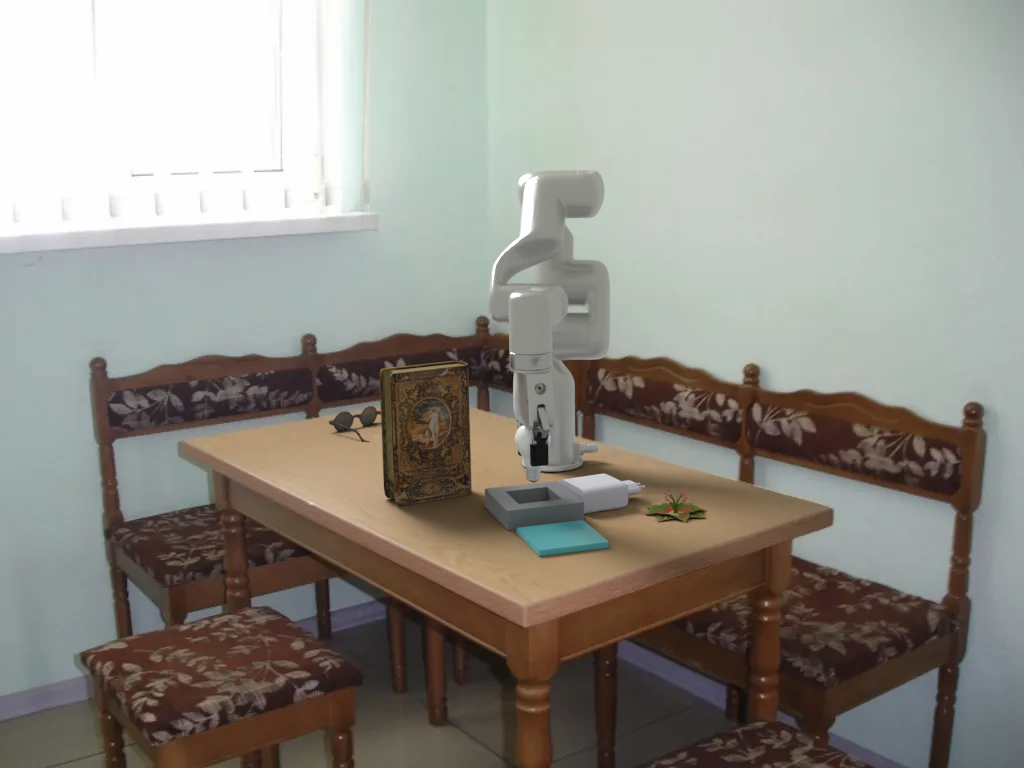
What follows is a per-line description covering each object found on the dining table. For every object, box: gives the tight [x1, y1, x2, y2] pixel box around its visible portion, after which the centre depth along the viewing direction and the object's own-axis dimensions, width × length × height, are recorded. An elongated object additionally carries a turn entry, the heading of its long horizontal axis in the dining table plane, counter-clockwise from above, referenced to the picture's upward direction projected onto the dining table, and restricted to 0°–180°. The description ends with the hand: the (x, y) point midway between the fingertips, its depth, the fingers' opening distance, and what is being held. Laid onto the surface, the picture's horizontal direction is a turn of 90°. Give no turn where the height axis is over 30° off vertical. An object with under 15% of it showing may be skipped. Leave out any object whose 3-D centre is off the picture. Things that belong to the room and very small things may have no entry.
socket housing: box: [484, 480, 585, 531], centre depth 203 cm, size 14×14×4 cm
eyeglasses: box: [328, 405, 381, 443], centre depth 265 cm, size 15×15×5 cm
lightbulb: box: [514, 423, 551, 483], centre depth 201 cm, size 6×6×11 cm
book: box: [379, 360, 473, 506], centre depth 212 cm, size 16×6×25 cm, turn 117°
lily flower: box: [644, 488, 708, 524], centre depth 202 cm, size 12×12×5 cm
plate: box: [516, 520, 610, 557], centre depth 189 cm, size 12×12×1 cm
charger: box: [559, 473, 646, 515], centre depth 209 cm, size 5×9×15 cm
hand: (533, 459), depth 202 cm, fingers closed on lightbulb, 6 cm apart
